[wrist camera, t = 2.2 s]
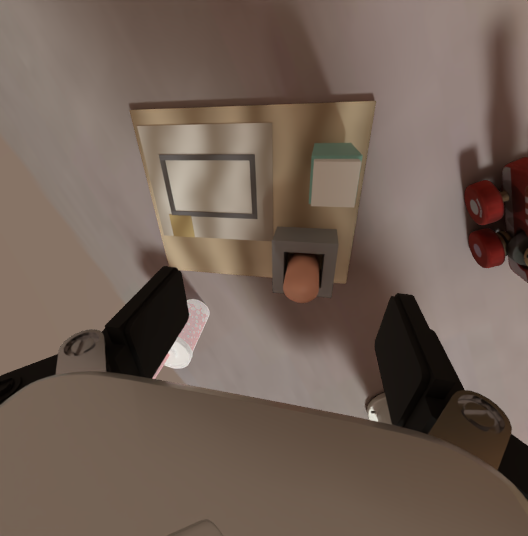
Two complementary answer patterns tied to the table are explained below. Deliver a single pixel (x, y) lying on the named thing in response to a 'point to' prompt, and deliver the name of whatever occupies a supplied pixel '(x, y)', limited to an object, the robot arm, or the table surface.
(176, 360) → the beverage cup
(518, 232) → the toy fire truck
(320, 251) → the button housing
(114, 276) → the table surface
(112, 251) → the table surface
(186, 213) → the board
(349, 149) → the green and white block
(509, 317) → the table surface
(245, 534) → the robot arm
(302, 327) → the table surface
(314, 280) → the button
